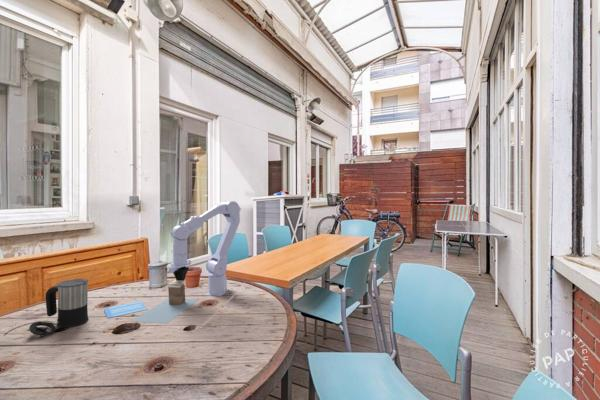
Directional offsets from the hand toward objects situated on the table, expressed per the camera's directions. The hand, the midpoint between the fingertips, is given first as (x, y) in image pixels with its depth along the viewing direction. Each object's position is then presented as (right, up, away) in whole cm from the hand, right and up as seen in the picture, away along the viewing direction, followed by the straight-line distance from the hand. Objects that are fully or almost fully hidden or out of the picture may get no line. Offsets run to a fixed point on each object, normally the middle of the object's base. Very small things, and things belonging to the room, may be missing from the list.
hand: (180, 284), depth 128 cm
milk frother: (-32, -8, -24) cm, 41 cm away
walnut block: (0, -7, -3) cm, 7 cm away
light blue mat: (-1, -8, -10) cm, 12 cm away
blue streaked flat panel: (-18, -8, -10) cm, 22 cm away
